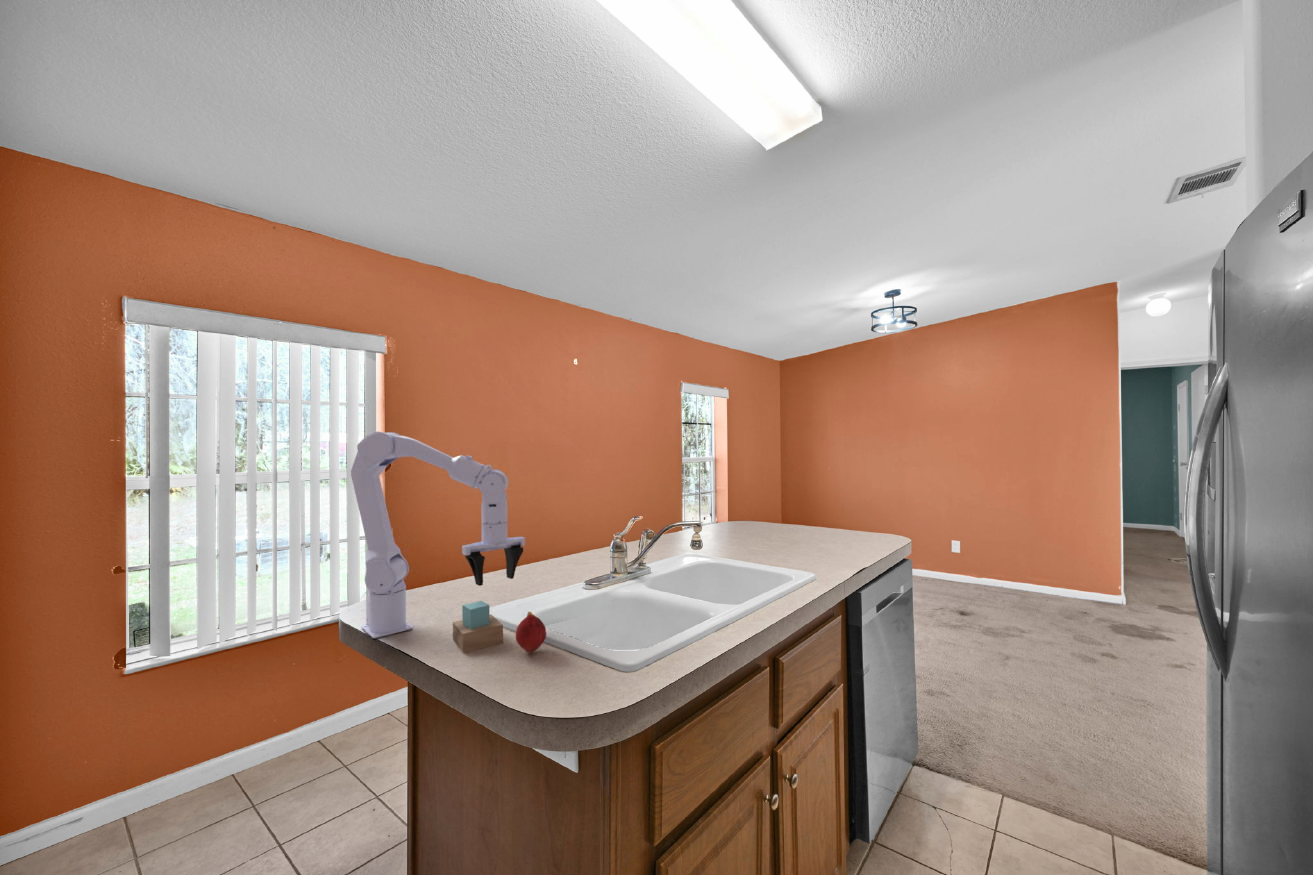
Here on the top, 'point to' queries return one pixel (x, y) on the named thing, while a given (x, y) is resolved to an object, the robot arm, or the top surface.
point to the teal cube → (475, 614)
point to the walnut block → (477, 635)
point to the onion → (530, 633)
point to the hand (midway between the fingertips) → (495, 581)
